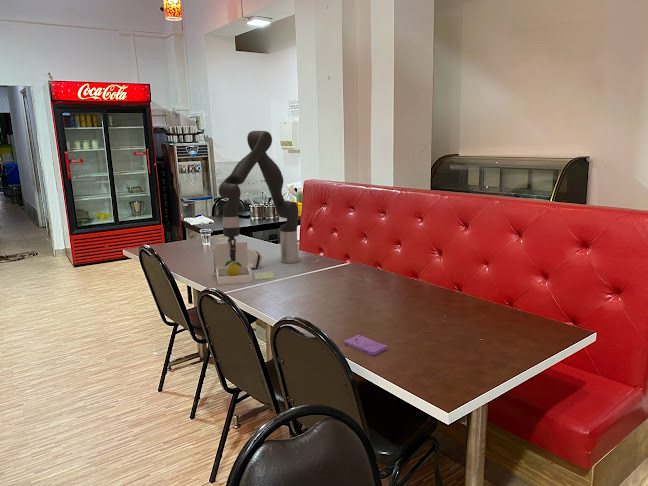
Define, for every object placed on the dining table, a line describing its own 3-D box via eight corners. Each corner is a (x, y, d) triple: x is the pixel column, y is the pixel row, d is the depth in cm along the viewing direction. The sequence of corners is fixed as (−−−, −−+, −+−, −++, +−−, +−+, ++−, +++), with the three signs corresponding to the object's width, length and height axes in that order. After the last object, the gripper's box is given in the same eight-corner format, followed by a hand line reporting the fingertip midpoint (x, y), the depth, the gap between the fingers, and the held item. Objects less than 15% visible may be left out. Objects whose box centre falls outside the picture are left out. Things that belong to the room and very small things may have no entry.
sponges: (358, 339, 164) (358, 334, 163) (387, 350, 154) (387, 345, 154) (343, 345, 159) (343, 340, 158) (372, 357, 150) (373, 351, 149)
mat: (271, 272, 246) (271, 271, 246) (274, 278, 236) (274, 277, 236) (253, 274, 244) (253, 273, 244) (255, 280, 234) (255, 279, 234)
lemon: (225, 280, 234) (224, 259, 232) (229, 276, 240) (228, 257, 238) (238, 280, 234) (237, 260, 231) (242, 277, 239) (241, 257, 237)
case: (248, 271, 250) (246, 241, 246) (252, 282, 230) (250, 250, 227) (214, 274, 246) (212, 243, 243) (215, 285, 226) (213, 252, 223)
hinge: (237, 264, 265) (242, 246, 265) (245, 265, 268) (249, 248, 268) (251, 270, 252) (256, 251, 252) (258, 272, 255) (264, 253, 255)
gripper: (240, 227, 226) (241, 262, 229) (238, 223, 239) (239, 255, 242) (223, 228, 224) (225, 263, 227) (222, 223, 237) (224, 256, 241)
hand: (232, 259), depth 235 cm, fingers open, 8 cm apart
